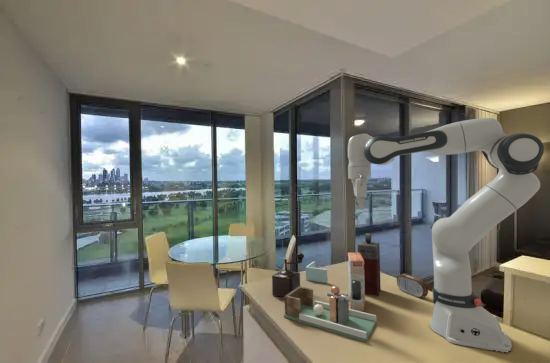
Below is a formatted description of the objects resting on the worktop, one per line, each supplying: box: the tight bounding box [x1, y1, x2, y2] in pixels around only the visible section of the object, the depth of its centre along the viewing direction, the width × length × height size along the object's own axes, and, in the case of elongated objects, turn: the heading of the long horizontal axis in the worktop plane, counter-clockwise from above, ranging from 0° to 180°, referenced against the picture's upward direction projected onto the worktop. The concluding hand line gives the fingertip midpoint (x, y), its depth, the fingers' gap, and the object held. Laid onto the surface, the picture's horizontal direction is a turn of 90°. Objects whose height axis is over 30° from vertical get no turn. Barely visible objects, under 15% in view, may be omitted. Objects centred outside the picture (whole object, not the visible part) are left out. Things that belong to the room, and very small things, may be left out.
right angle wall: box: [305, 260, 329, 284], centre depth 150 cm, size 12×12×8 cm
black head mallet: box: [327, 280, 363, 322], centre depth 100 cm, size 13×6×15 cm, turn 56°
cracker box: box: [347, 251, 366, 313], centre depth 116 cm, size 14×6×21 cm, turn 168°
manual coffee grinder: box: [271, 252, 305, 299], centre depth 132 cm, size 16×11×18 cm
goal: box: [284, 285, 314, 318], centre depth 110 cm, size 7×12×7 cm, turn 146°
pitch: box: [283, 292, 377, 343], centre depth 103 cm, size 32×14×10 cm, turn 56°
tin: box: [396, 273, 429, 299], centre depth 126 cm, size 15×3×8 cm, turn 25°
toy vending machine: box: [357, 232, 382, 297], centre depth 131 cm, size 9×11×28 cm
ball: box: [313, 304, 324, 315], centre depth 106 cm, size 4×4×4 cm
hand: (360, 208), depth 109 cm, fingers open, 8 cm apart
